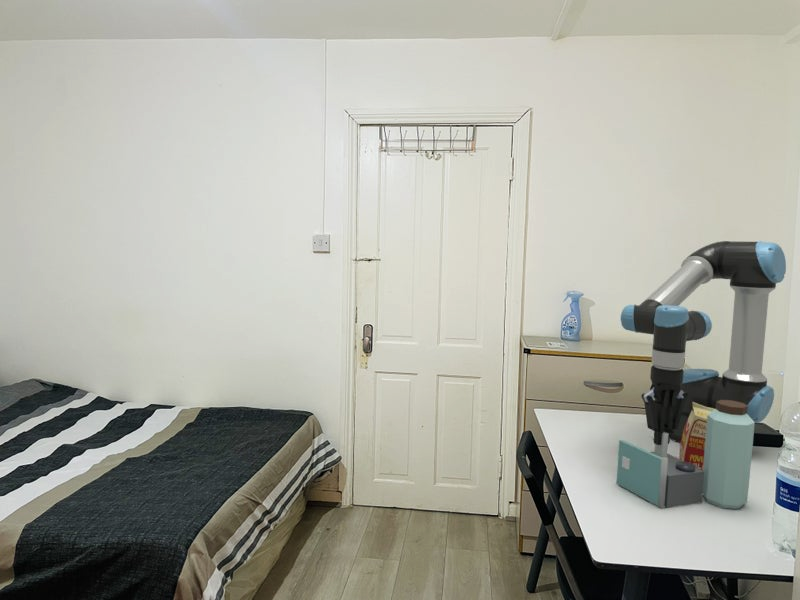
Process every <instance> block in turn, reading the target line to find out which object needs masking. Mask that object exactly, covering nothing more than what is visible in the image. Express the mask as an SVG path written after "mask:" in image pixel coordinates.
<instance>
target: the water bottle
mask: <svg viewBox="0 0 800 600" xmlns="http://www.w3.org/2000/svg"><path fill="white" fill-rule="evenodd" d="M747 410H748V406H747V405H746V404H744V403H741V402H736V401H731V400H719V401H716V408H715V409H714V410H713V411H712V412H711V413H709V414H708V416H707V427H706V439H705V451H704V462H703V471H704V479H703V490H702V496H703V498H704V499H706V501H707V502H708V503H710V504H713V505H715V506H717V507H720V508H722V509H730V510H733V509H734V510H737V509H739V508H741V507H743V506H744V505H746V503H747V502H748V498H749V497H748V496H749V487H750V486H749V485H750V477H751V465H752V454H753V445H754V436H755V435H754V434H755V425H756V423H755V422H754V421H753V420H752V419H751V418H750V417H749V415H748V414H747Z"/></svg>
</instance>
